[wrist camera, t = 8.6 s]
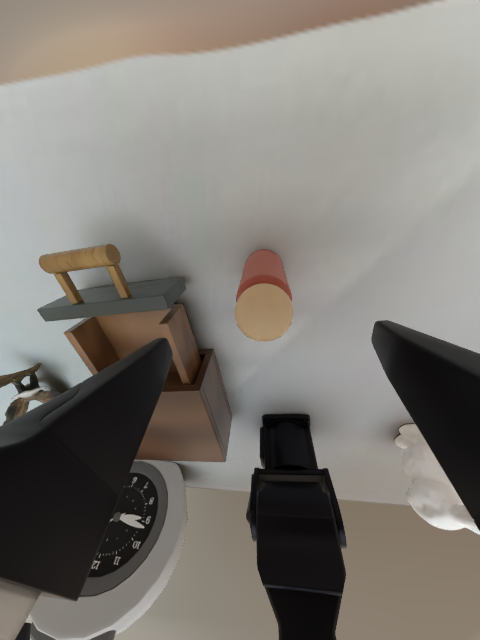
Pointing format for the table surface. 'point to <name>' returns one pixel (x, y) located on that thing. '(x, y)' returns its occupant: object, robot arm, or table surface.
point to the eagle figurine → (25, 392)
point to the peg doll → (263, 298)
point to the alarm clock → (124, 559)
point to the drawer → (121, 314)
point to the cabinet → (190, 419)
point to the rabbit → (431, 484)
